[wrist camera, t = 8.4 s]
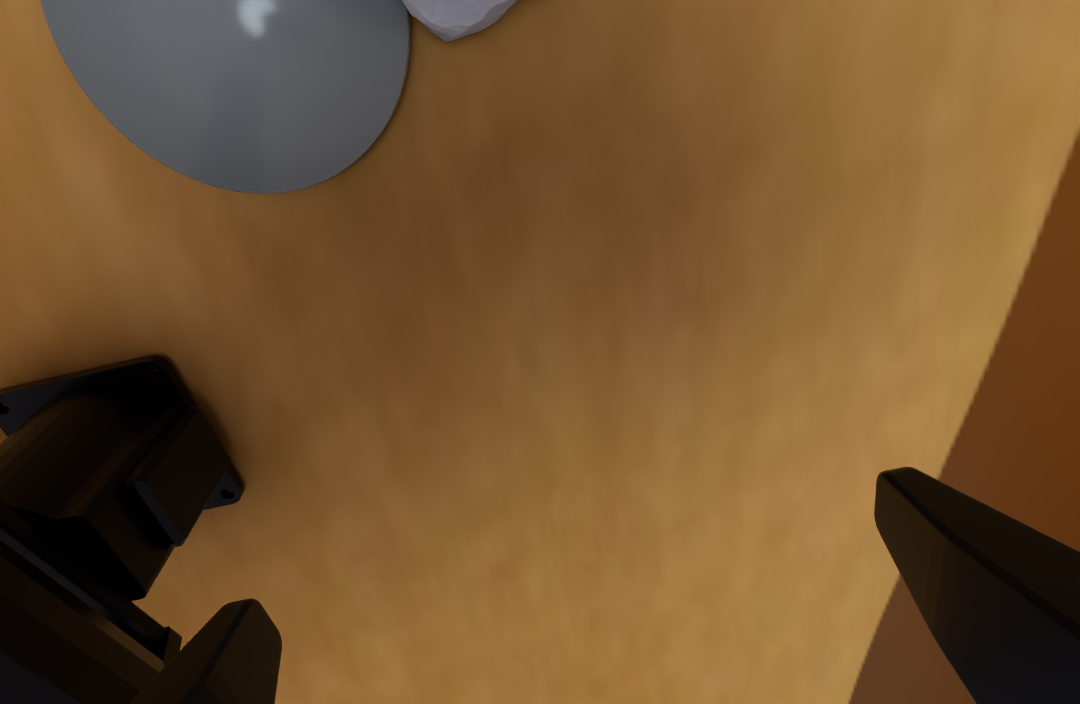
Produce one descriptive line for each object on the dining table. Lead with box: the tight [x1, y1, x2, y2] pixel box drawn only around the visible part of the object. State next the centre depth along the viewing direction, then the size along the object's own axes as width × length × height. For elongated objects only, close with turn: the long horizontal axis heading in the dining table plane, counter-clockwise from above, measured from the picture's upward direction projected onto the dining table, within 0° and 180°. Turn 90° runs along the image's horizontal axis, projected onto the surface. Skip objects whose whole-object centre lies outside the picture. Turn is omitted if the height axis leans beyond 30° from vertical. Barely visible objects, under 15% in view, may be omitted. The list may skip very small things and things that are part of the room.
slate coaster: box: [40, 0, 411, 194], centre depth 16 cm, size 9×9×1 cm
